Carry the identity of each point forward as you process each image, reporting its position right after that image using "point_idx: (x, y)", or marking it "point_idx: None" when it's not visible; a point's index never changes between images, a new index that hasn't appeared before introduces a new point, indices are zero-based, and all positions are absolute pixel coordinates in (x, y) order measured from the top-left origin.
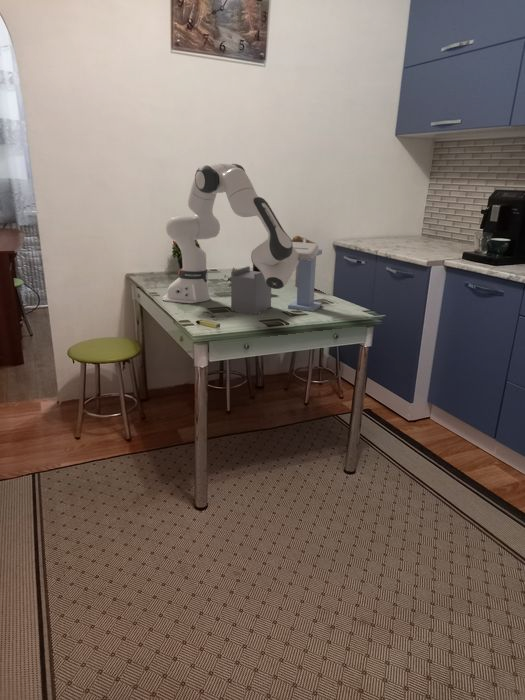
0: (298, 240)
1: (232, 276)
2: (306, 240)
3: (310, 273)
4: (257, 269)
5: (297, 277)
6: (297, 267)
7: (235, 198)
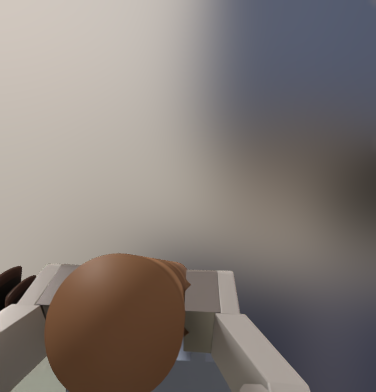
0: (147, 349)
1: None
2: (185, 277)
3: None
4: (4, 303)
5: None
6: None
7: None
